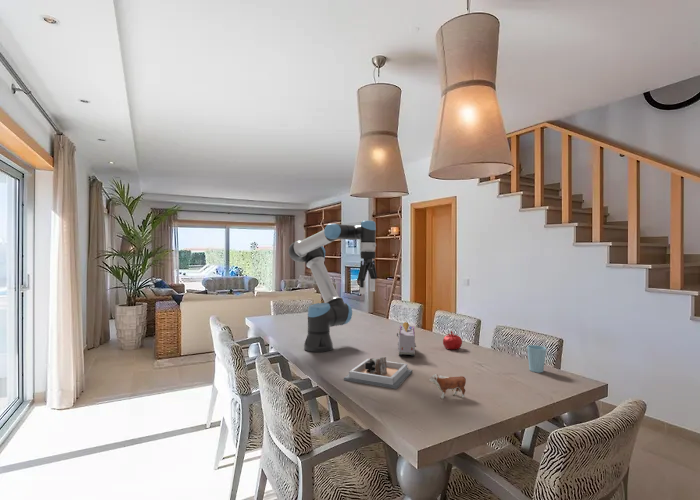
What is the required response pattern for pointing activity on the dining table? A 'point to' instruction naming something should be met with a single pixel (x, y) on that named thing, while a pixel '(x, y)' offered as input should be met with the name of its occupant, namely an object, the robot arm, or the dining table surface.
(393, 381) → the tray
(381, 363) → the caster wheel
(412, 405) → the dining table surface
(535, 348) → the cup
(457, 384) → the bull figurine
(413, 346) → the toy vehicle
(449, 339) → the pomegranate
